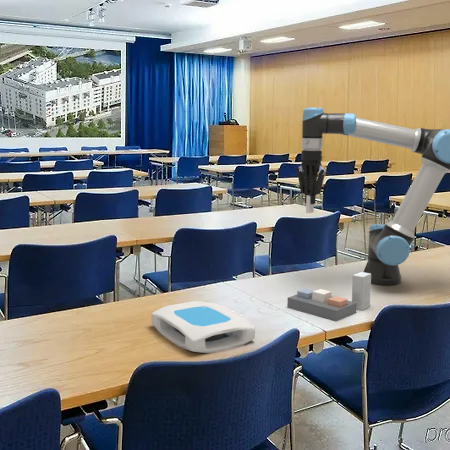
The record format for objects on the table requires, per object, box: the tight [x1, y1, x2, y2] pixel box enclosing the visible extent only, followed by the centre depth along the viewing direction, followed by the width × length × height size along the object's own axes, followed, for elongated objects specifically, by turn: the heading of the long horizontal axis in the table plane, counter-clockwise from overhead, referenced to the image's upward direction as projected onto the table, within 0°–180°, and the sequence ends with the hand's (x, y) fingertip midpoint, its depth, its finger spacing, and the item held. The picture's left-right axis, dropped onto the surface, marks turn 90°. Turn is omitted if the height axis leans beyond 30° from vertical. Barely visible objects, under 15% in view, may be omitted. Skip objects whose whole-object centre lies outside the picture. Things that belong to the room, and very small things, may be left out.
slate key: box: [296, 288, 314, 299], centre depth 209 cm, size 5×5×4 cm
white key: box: [312, 288, 332, 303], centre depth 204 cm, size 5×5×4 cm
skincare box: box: [351, 271, 372, 311], centre depth 207 cm, size 6×4×12 cm
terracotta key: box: [328, 295, 349, 308], centre depth 200 cm, size 5×5×4 cm
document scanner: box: [150, 300, 256, 354], centre depth 181 cm, size 21×28×6 cm
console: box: [287, 294, 357, 322], centre depth 205 cm, size 12×20×4 cm, turn 46°
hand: (309, 212), depth 227 cm, fingers closed
